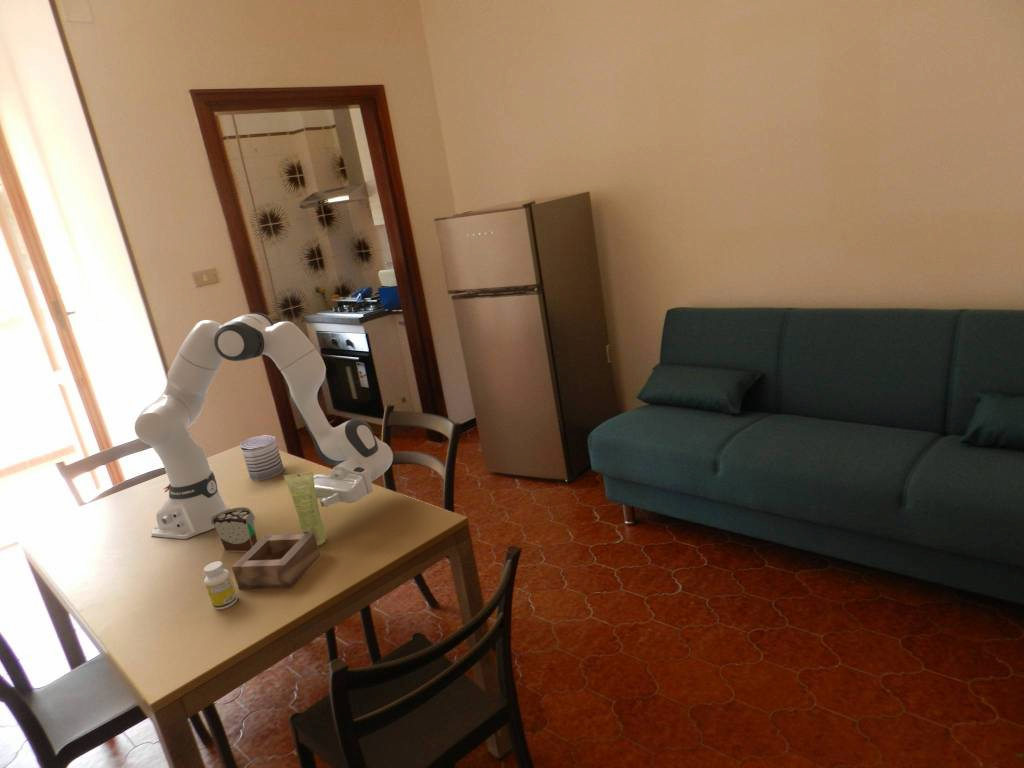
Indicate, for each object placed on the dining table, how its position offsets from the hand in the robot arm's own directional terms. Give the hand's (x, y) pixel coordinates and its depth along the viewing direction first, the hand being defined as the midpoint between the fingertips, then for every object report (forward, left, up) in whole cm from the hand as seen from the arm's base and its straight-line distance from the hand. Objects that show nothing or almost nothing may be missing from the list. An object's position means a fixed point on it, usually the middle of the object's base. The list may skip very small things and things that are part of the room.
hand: (309, 502), depth 179 cm
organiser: (-3, -14, -11) cm, 18 cm away
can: (-44, +46, -11) cm, 65 cm away
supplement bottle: (-10, -27, -11) cm, 31 cm away
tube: (0, -1, -11) cm, 11 cm away
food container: (-21, -1, -11) cm, 24 cm away
